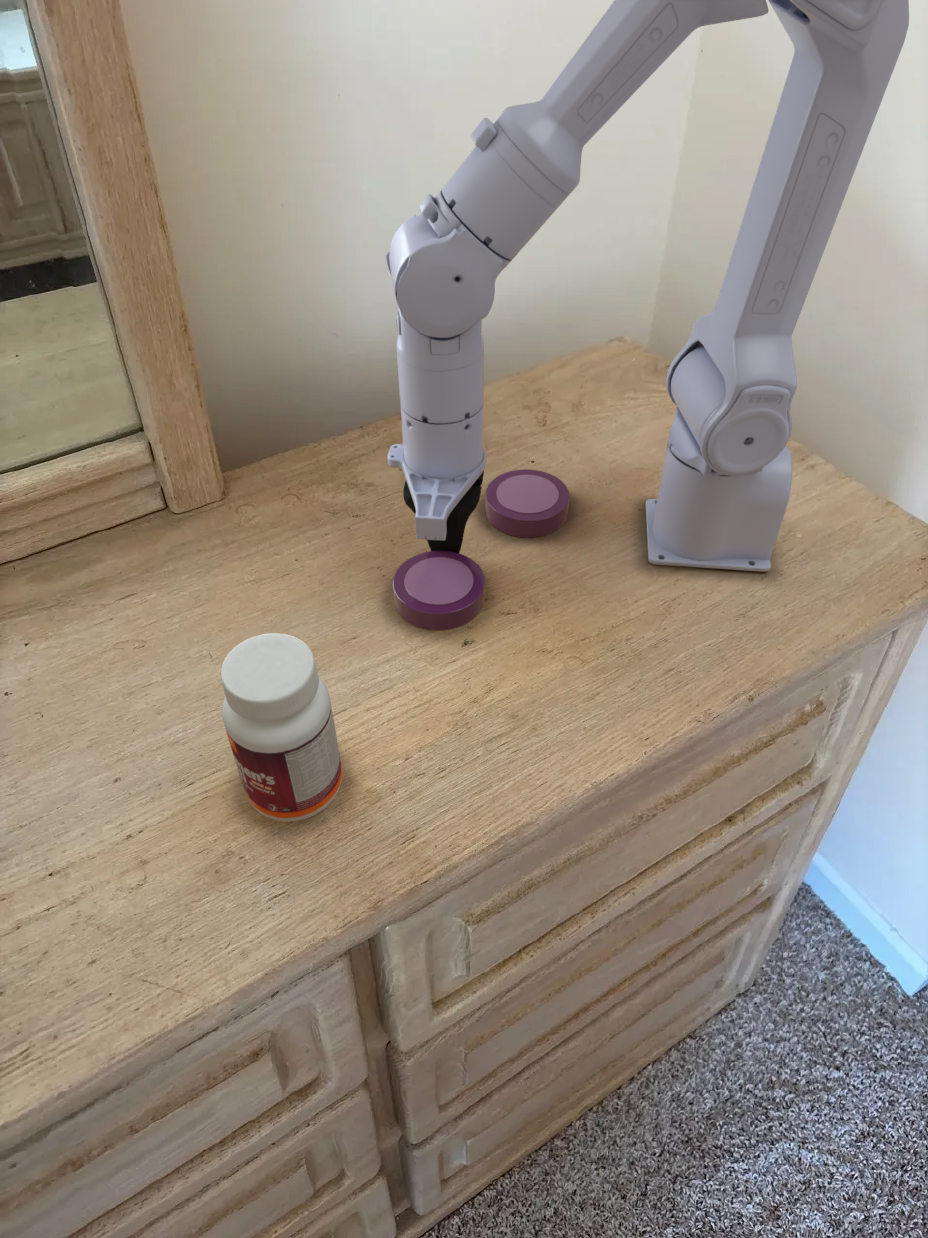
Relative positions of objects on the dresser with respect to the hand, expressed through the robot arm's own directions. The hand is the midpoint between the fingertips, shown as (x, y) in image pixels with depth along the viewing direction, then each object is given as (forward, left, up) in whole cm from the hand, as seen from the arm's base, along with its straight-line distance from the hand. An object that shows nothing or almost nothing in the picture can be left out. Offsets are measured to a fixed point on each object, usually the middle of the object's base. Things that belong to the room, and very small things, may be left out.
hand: (446, 551), depth 72 cm
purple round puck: (-6, -7, -1) cm, 9 cm away
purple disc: (0, +4, -1) cm, 4 cm away
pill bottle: (+7, +22, -1) cm, 23 cm away
